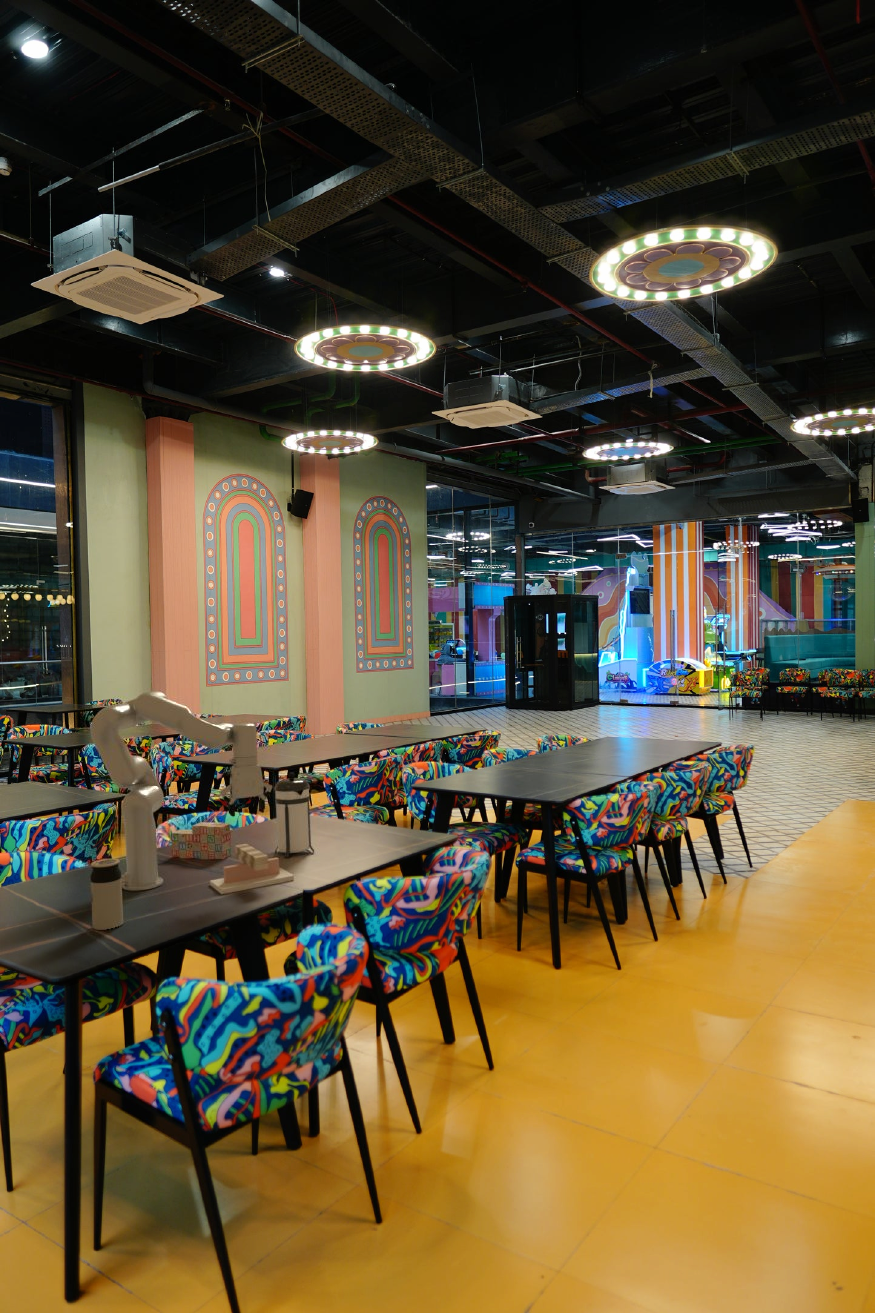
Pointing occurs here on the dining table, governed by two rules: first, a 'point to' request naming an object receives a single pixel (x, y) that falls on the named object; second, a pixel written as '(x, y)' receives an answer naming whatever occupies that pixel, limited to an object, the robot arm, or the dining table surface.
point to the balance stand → (250, 877)
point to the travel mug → (106, 894)
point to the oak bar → (251, 857)
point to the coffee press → (293, 815)
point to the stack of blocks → (202, 841)
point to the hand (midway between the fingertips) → (247, 814)
